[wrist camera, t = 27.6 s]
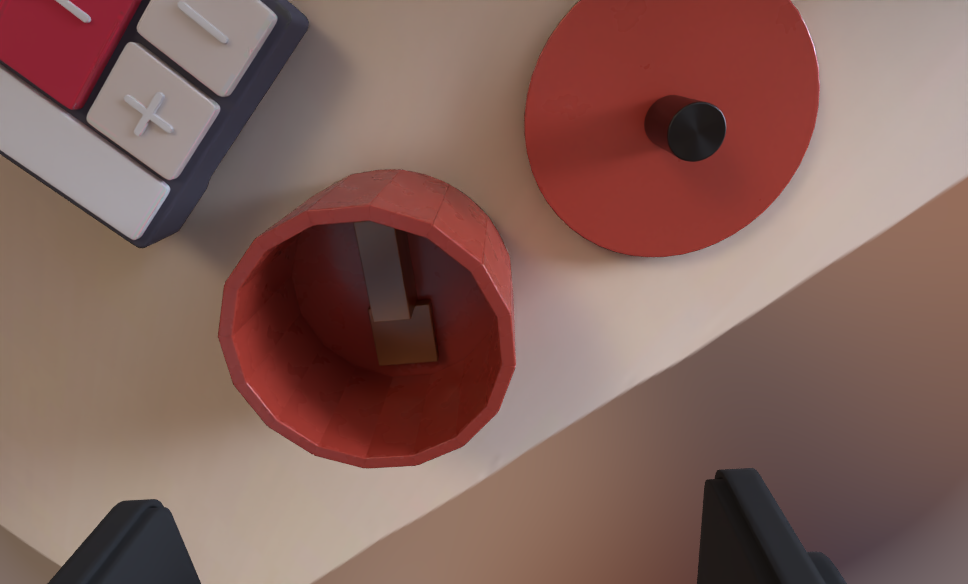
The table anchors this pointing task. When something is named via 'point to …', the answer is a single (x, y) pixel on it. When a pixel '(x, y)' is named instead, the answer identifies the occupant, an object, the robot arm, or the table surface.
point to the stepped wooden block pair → (394, 297)
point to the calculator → (135, 98)
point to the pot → (347, 329)
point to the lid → (670, 118)
